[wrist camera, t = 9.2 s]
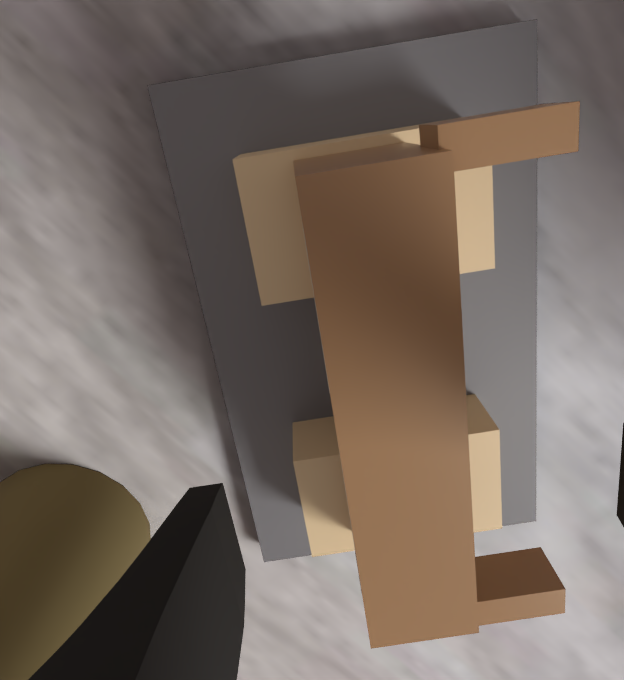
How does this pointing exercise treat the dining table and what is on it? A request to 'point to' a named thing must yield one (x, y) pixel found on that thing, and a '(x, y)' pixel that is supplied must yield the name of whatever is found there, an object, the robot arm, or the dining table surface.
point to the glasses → (415, 370)
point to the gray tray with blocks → (294, 274)
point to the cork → (59, 556)
